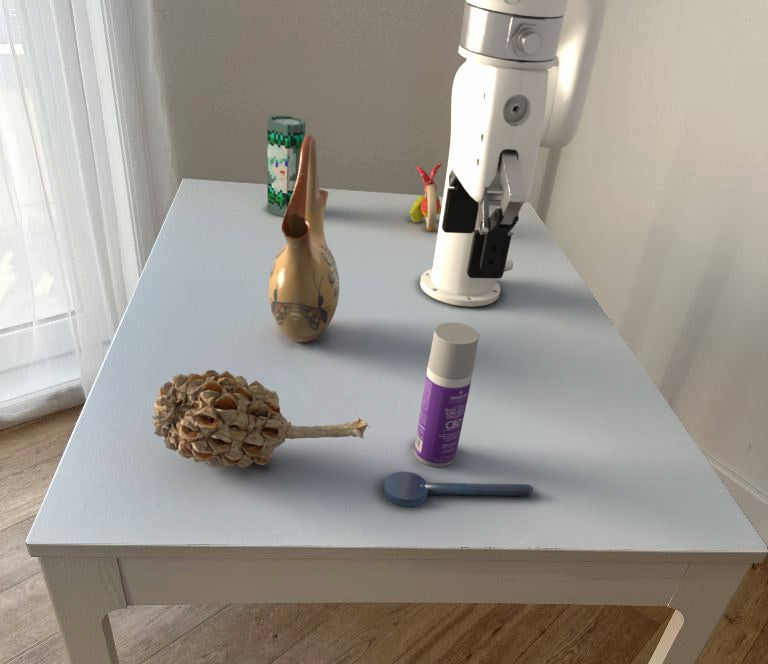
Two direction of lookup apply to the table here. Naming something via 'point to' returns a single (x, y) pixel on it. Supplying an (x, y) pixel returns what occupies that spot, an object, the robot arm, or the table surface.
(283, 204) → the can
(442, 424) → the container
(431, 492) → the spoon
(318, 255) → the ceramic vessel
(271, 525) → the table surface
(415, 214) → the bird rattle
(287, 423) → the pine cone
